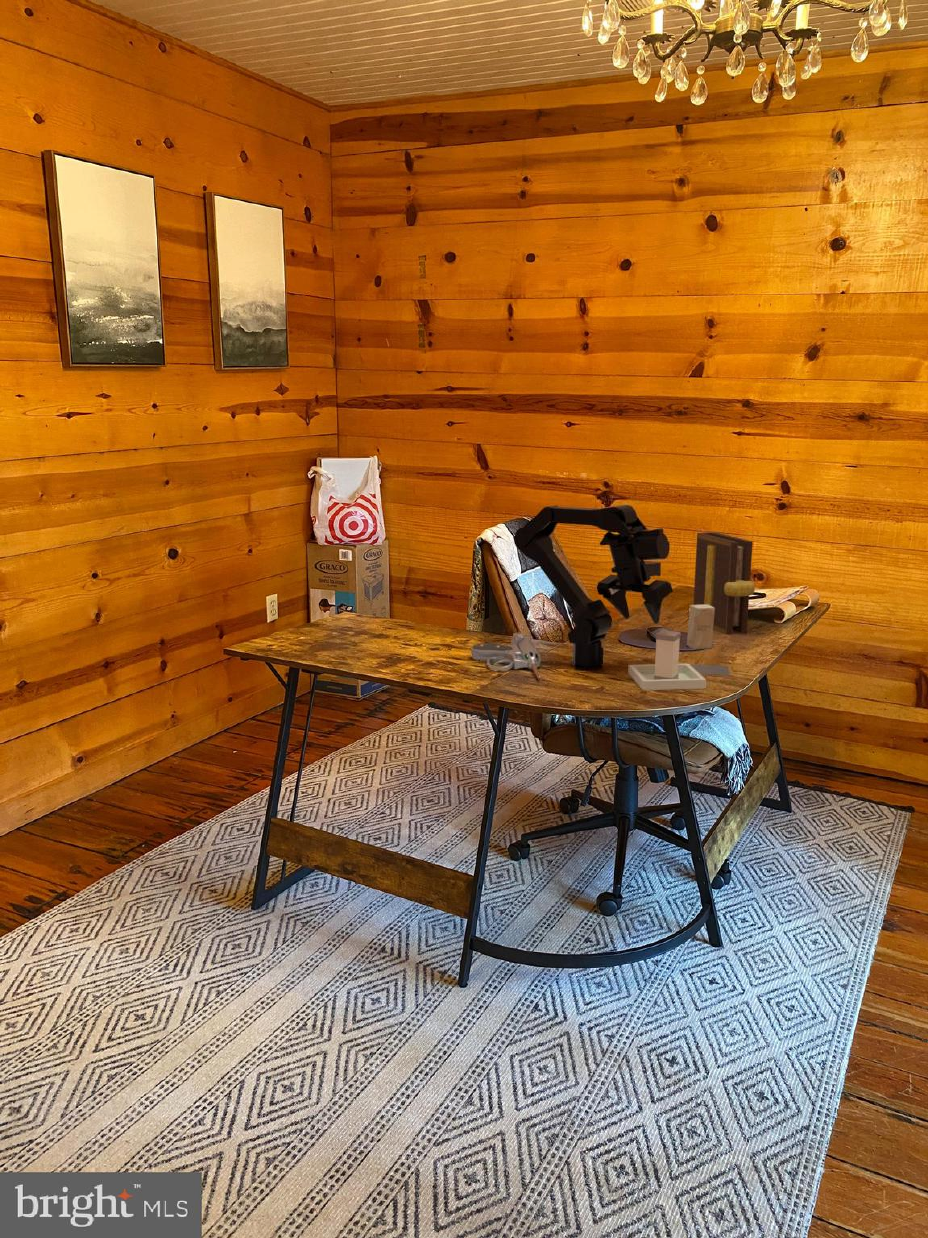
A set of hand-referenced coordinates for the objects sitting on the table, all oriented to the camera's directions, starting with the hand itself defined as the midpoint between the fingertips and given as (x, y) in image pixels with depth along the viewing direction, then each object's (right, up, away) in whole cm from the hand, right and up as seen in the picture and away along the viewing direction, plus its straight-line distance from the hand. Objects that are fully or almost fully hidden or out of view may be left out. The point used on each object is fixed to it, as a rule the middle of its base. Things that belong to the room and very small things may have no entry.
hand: (642, 620), depth 224 cm
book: (+30, -2, +44) cm, 53 cm away
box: (+19, -7, +21) cm, 29 cm away
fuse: (+4, -13, -8) cm, 16 cm away
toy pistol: (-31, -11, +6) cm, 34 cm away
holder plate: (+15, -12, 0) cm, 19 cm away
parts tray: (+4, -14, -8) cm, 17 cm away
